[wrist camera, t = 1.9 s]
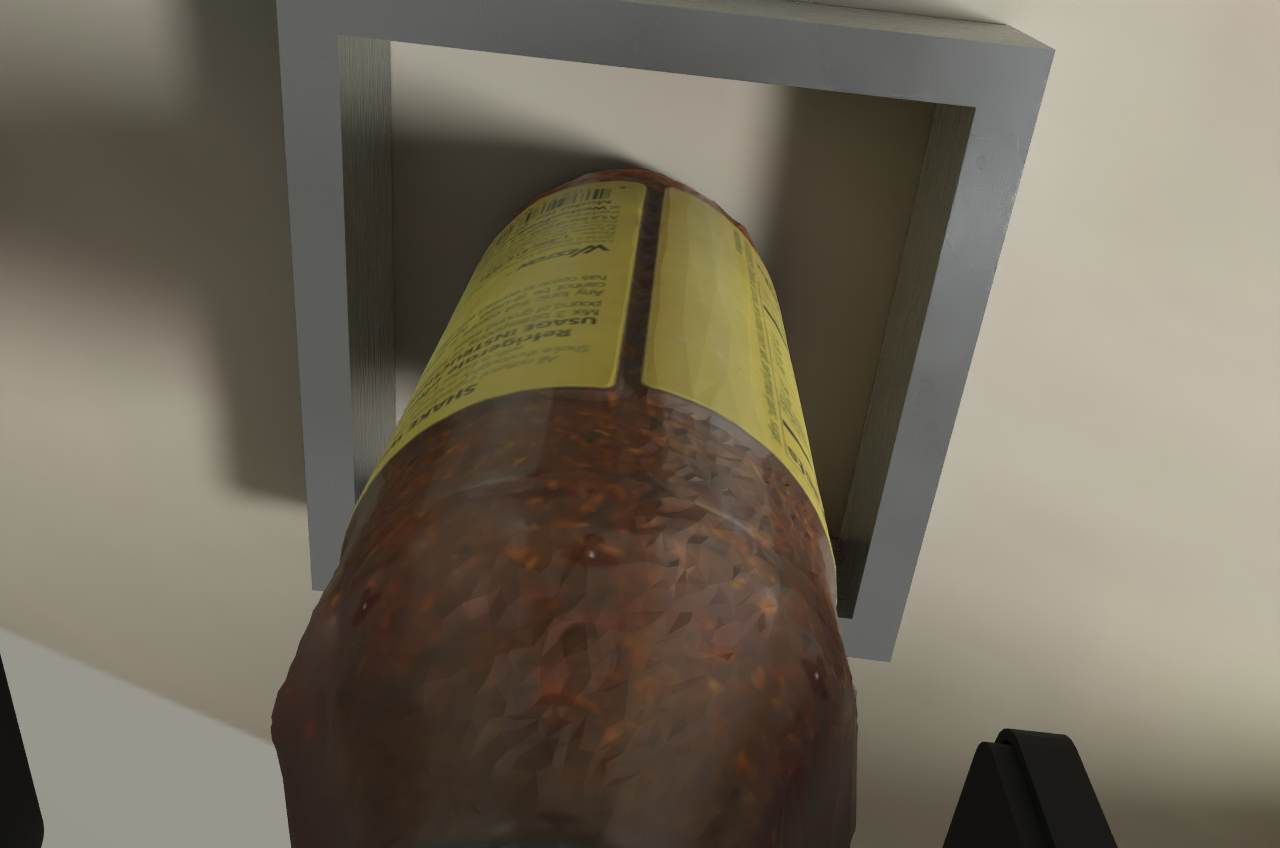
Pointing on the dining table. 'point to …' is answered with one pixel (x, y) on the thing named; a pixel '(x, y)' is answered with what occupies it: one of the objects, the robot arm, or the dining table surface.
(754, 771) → the sauce bottle
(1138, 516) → the dining table surface
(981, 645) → the dining table surface
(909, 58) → the collar
